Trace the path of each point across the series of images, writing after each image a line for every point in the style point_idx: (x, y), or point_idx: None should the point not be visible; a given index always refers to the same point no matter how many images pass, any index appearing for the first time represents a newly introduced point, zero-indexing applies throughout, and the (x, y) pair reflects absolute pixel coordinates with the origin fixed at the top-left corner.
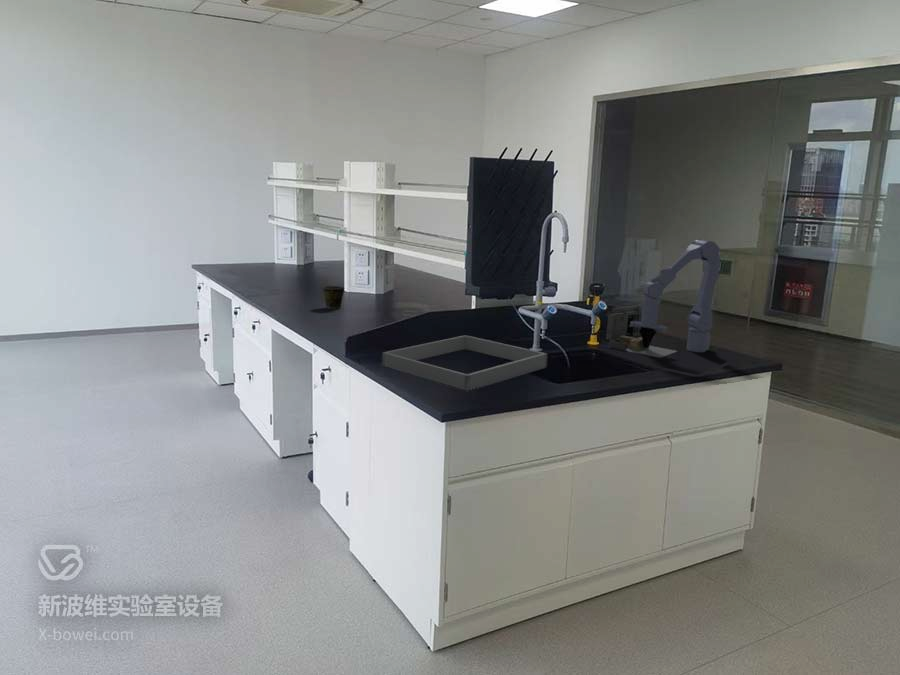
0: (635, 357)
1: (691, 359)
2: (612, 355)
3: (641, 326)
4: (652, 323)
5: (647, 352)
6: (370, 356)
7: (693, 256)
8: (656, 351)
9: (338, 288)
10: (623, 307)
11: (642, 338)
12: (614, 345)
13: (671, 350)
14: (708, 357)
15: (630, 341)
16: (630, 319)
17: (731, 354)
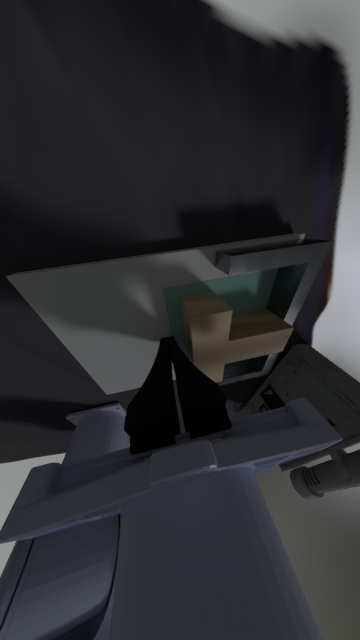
0: (118, 202)
1: (24, 380)
2: (237, 78)
3: (229, 434)
4: (123, 548)
5: (132, 310)
6: None
7: None
8: (129, 348)
9: None
10: None
11: (186, 359)
12: (282, 243)
13: (120, 387)
14: (45, 416)
15: (226, 307)
16: None
17: (65, 446)
